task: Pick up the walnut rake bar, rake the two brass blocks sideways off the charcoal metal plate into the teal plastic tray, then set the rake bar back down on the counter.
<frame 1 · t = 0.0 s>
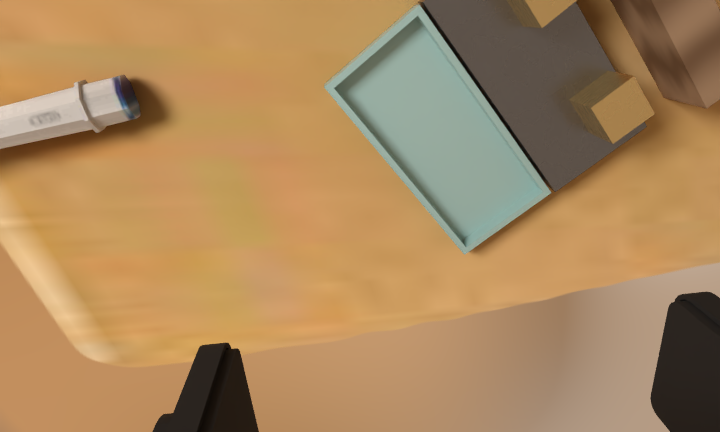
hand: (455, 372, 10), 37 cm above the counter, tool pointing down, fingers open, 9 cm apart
toothbrush head: (10, 122, 44), on the counter
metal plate: (531, 65, 44), on the counter
brass block 1: (598, 102, 44), point 2 cm above the counter, touching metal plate
teal tray: (439, 137, 47), on the counter
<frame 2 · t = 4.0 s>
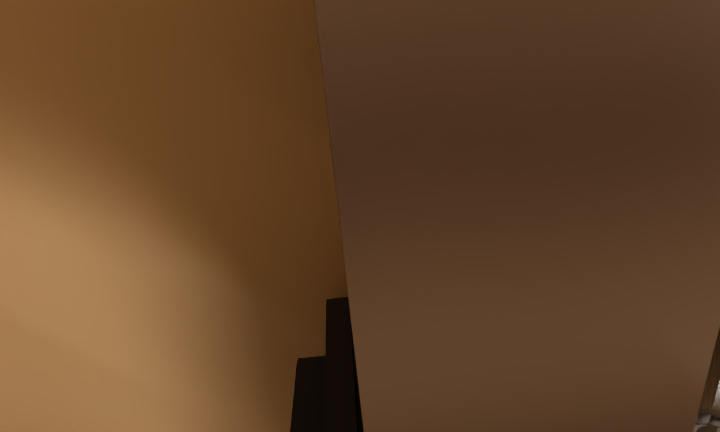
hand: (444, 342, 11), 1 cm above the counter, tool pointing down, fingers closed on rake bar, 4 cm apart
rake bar: (436, 318, 12), on the counter, touching gripper
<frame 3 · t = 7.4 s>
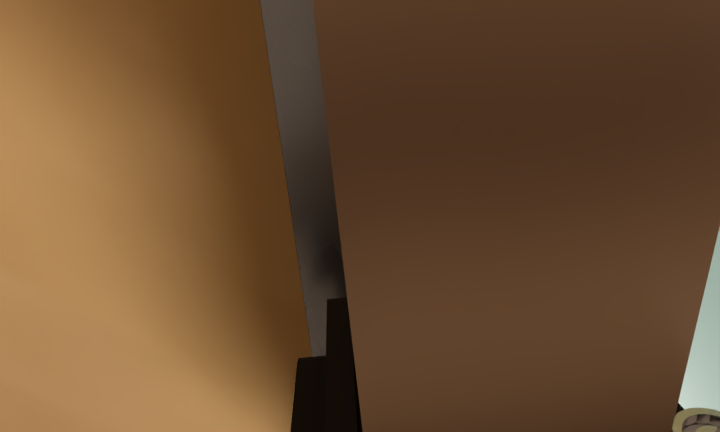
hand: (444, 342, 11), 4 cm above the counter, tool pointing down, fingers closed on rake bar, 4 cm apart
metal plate: (465, 252, 15), on the counter
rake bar: (433, 308, 12), point 3 cm above the counter, touching brass block 1, gripper
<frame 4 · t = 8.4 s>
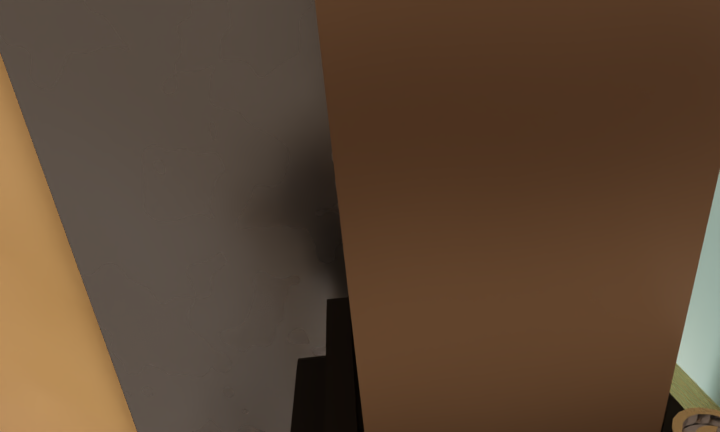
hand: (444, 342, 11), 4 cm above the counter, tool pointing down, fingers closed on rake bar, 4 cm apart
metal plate: (294, 268, 15), on the counter
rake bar: (432, 303, 13), point 3 cm above the counter, touching gripper
teal tray: (622, 236, 15), on the counter
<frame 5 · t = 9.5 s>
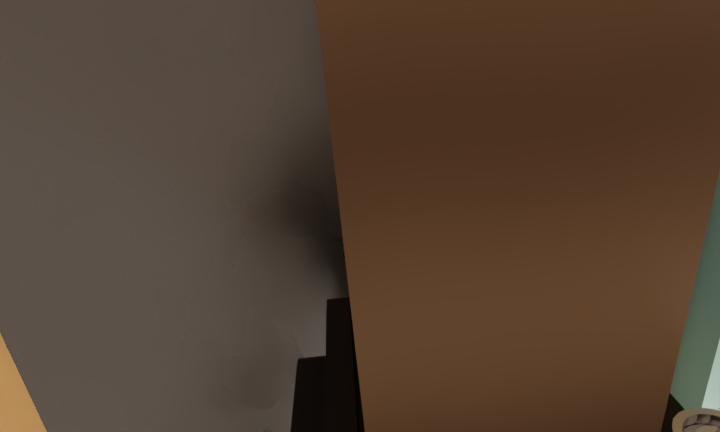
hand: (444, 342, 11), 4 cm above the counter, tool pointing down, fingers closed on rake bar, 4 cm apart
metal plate: (214, 277, 15), on the counter
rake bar: (432, 303, 13), point 3 cm above the counter, touching brass block 2, gripper
teal tray: (543, 243, 15), on the counter
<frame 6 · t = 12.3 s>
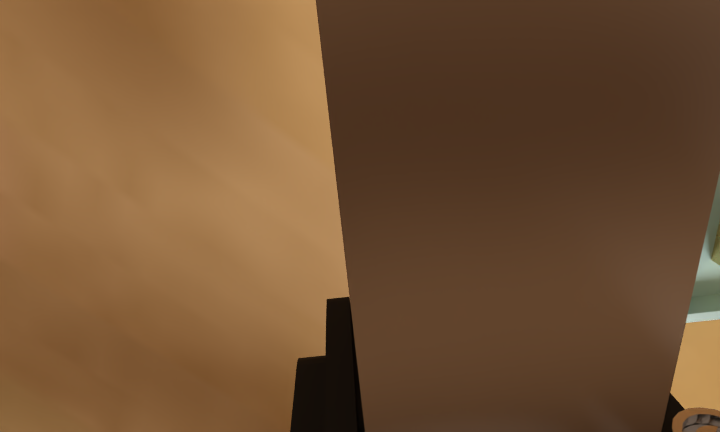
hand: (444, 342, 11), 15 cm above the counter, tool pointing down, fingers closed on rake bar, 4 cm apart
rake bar: (432, 301, 13), point 14 cm above the counter, touching gripper
when the fingers open (2 cm above the counter, at t = 14.8 s): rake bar drops 1 cm, on the counter.
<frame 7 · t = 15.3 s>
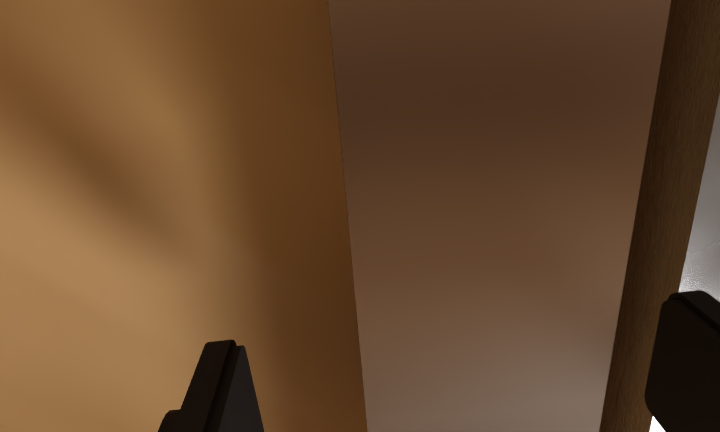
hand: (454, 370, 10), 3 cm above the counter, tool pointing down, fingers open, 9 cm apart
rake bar: (424, 278, 14), on the counter
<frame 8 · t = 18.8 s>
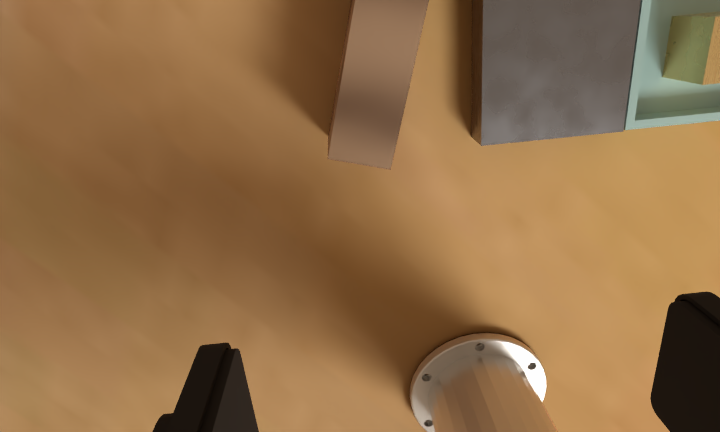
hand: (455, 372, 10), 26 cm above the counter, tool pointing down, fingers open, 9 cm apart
brass block 2: (686, 49, 31), point 3 cm above the counter, tilted 90°, touching teal tray
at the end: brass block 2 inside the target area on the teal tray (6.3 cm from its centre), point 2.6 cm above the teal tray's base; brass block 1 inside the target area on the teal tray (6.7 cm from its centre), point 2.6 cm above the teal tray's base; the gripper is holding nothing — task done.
